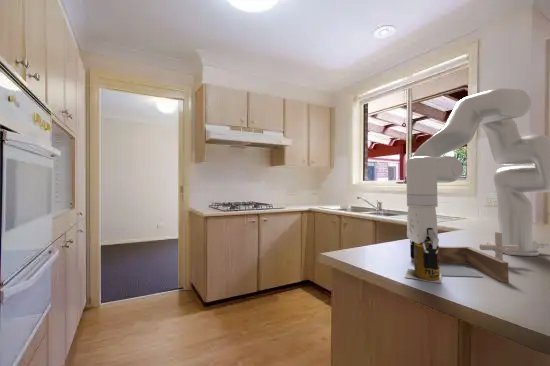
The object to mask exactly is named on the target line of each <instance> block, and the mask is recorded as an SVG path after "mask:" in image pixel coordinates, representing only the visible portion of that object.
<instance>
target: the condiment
mask: <svg viewBox="0 0 550 366" xmlns="http://www.w3.org/2000/svg"><path fill="white" fill-rule="evenodd" d="M427 235H428V234H427ZM425 241H431V239H430V238H429V236H427V237H426V240H425ZM428 246H429V245H427V247H428ZM439 246H440V245H439V244H438V249H437V250H438V253H437V269H428V268H424V266H423V253H425V251H424V247H423V244H422V243H421V244H417V243H414V262H413V263H414V264H413V265H414V269H412V268H408V269H407V271H406V273H405V276H404V278H407V279H414V280H420V281H424V282H431V283H437V284H440V283H441V282H442V276H441V275H442V274H440V272H439V265H440V263H439Z"/></svg>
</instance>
